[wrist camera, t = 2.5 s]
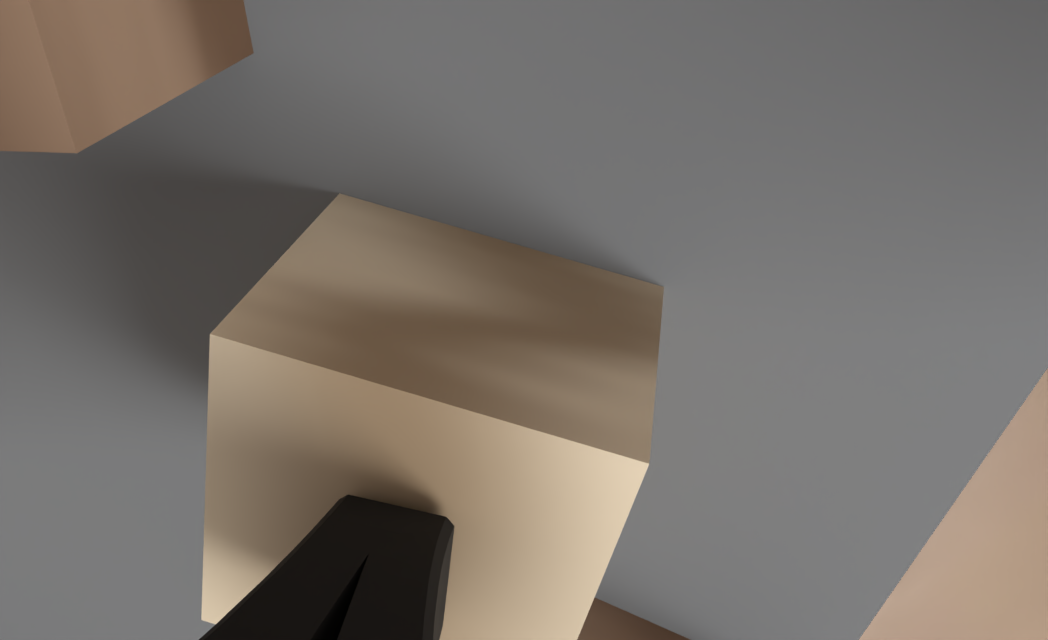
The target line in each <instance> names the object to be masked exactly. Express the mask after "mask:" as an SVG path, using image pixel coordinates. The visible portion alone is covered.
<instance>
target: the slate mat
mask: <svg viewBox="0 0 1048 640" xmlns="http://www.w3.org/2000/svg"><path fill="white" fill-rule="evenodd" d="M244 5H245V11H246V16H247V21H248V26H249V31H250V37H251V42H252V47H253V52H254V53H253V54H251V55H249V56H248V57H246V58H244V59H242V60H241V61H239V62H237V63H235V64H234V65H232V66H230V67H228V68H227V69H225V70H223V71H221V72H219V73H218V74H216V75H214V76H212V77H211V78H209V79H207V80H205V81H204V82H202V83H200V84H198V85H197V86H195V87H193V88H191V89H189V90H188V91H186V92H184V93H182V94H181V95H179V96H177V97H175V98H174V99H172V100H170V101H168V102H167V103H165V104H163V105H161V106H159V107H158V108H156V109H154V110H152V111H151V112H149V113H147V114H145V115H144V116H142V117H140V118H138V119H137V120H135V121H133V122H131V123H129V124H128V125H126V126H124V127H122V128H121V129H119V130H117V131H115V132H114V133H112V134H110V135H108V136H107V137H105V138H103V139H101V140H99V141H98V142H96V143H94V144H92V145H91V146H89V147H87V148H85V149H84V150H82V151H80V152H78V153H51V152H18V151H0V640H199V639H200V638H201V637H202V636H203V635H205V634H206V633H207V632H208V631H209V630H210V629H211V628H212V627H213V626H214V625H216V624H213V623H209V622H206V621H203V620H201V614H202V580H203V547H204V513H205V480H206V447H207V413H208V380H209V346H210V333H211V332H212V331H213V330H214V329H215V328H216V327H217V326H218V325H219V324H220V323H221V321H222V320H223V319H224V318H225V317H226V316H227V315H228V314H229V313H230V312H231V311H232V310H233V308H234V307H235V306H236V305H237V304H238V303H239V302H240V301H241V300H242V299H243V298H244V296H245V295H246V294H247V293H248V292H249V291H250V290H251V289H252V288H253V287H254V286H255V285H256V283H257V282H258V281H259V280H260V279H261V278H262V277H263V276H264V275H265V274H266V273H267V272H268V270H269V269H270V268H271V267H272V266H273V265H274V264H275V263H276V262H277V261H278V260H279V259H280V257H281V256H282V255H283V254H284V253H285V252H286V251H287V250H288V249H289V248H290V247H291V246H292V244H293V243H294V242H295V241H296V240H297V239H298V238H299V237H300V236H301V235H302V234H303V233H304V231H305V230H306V229H307V228H308V227H309V226H310V225H311V224H312V223H313V222H314V221H315V220H316V218H317V217H318V216H319V215H320V214H321V213H322V212H323V211H324V210H325V209H326V208H327V207H328V205H329V204H330V203H331V202H332V201H333V200H334V199H335V198H336V197H337V196H338V195H339V193H340V194H343V195H347V196H350V197H354V198H357V199H361V200H364V201H368V202H371V203H375V204H378V205H382V206H385V207H388V208H392V209H395V210H399V211H402V212H406V213H409V214H413V215H416V216H420V217H423V218H427V219H430V220H433V221H437V222H440V223H444V224H447V225H451V226H454V227H458V228H461V229H465V230H468V231H472V232H475V233H479V234H482V235H485V236H489V237H492V238H496V239H499V240H503V241H506V242H510V243H513V244H517V245H520V246H524V247H527V248H531V249H534V250H537V251H541V252H544V253H548V254H551V255H555V256H558V257H562V258H565V259H569V260H572V261H576V262H579V263H583V264H586V265H589V266H593V267H596V268H600V269H603V270H607V271H610V272H614V273H617V274H621V275H624V276H628V277H631V278H635V279H638V280H641V281H645V282H648V283H652V284H655V285H659V286H662V287H664V293H663V305H662V318H661V330H660V342H659V354H658V366H657V378H656V390H655V402H654V414H653V426H652V438H651V450H650V462H649V466H648V468H647V471H646V473H645V476H644V478H643V481H642V483H641V485H640V488H639V490H638V493H637V495H636V498H635V500H634V502H633V505H632V507H631V510H630V512H629V515H628V517H627V520H626V522H625V524H624V527H623V529H622V532H621V534H620V537H619V539H618V541H617V544H616V546H615V549H614V551H613V554H612V556H611V558H610V561H609V563H608V566H607V568H606V571H605V573H604V576H603V578H602V580H601V583H600V585H599V588H598V590H597V593H596V595H595V598H597V599H599V600H602V601H604V602H606V603H609V604H611V605H613V606H615V607H618V608H620V609H622V610H624V611H627V612H629V613H631V614H634V615H636V616H638V617H640V618H643V619H645V620H647V621H649V622H652V623H654V624H656V625H659V626H661V627H663V628H665V629H668V630H670V631H672V632H674V633H677V634H679V635H681V636H684V637H686V638H688V639H690V640H859V639H860V637H861V636H862V634H863V633H864V631H865V630H866V629H867V627H868V626H869V624H870V623H871V621H872V620H873V618H874V617H875V616H876V614H877V613H878V611H879V610H880V608H881V607H882V606H883V604H884V603H885V601H886V600H887V598H888V597H889V595H890V594H891V593H892V591H893V590H894V588H895V587H896V585H897V584H898V583H899V581H900V580H901V578H902V577H903V575H904V574H905V572H906V571H907V570H908V568H909V567H910V565H911V564H912V562H913V561H914V559H915V558H916V557H917V555H918V554H919V552H920V551H921V549H922V548H923V547H924V545H925V544H926V542H927V541H928V539H929V538H930V536H931V535H932V534H933V532H934V531H935V529H936V528H937V526H938V525H939V524H940V522H941V521H942V519H943V518H944V516H945V515H946V513H947V512H948V511H949V509H950V508H951V506H952V505H953V503H954V502H955V500H956V499H957V498H958V496H959V495H960V493H961V492H962V490H963V489H964V488H965V486H966V485H967V483H968V482H969V480H970V479H971V477H972V476H973V475H974V473H975V472H976V470H977V469H978V467H979V466H980V465H981V463H982V462H983V460H984V459H985V457H986V456H987V454H988V453H989V452H990V450H991V449H992V447H993V446H994V444H995V443H996V441H997V440H998V439H999V437H1000V436H1001V434H1002V433H1003V431H1004V430H1005V429H1006V427H1007V426H1008V424H1009V423H1010V421H1011V420H1012V418H1013V417H1014V416H1015V414H1016V413H1017V411H1018V410H1019V408H1020V407H1021V406H1022V404H1023V403H1024V401H1025V400H1026V398H1027V397H1028V395H1029V394H1030V393H1031V391H1032V390H1033V388H1034V387H1035V385H1036V384H1037V383H1038V381H1039V380H1040V378H1041V377H1042V375H1043V374H1044V372H1045V371H1046V370H1047V368H1048V0H244Z"/></svg>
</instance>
